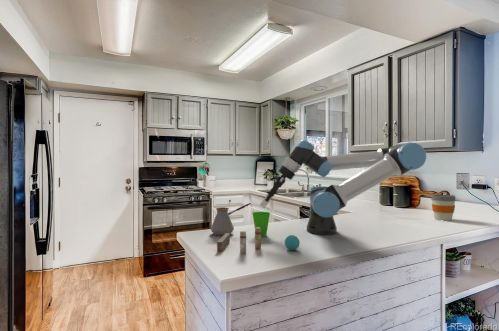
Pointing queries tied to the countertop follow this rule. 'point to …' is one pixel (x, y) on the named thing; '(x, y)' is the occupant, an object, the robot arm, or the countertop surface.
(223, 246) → the bar
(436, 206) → the reusable coffee cup
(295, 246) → the ball
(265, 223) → the cup
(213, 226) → the coffee pot
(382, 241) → the countertop surface
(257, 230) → the front pin
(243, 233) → the side pin
